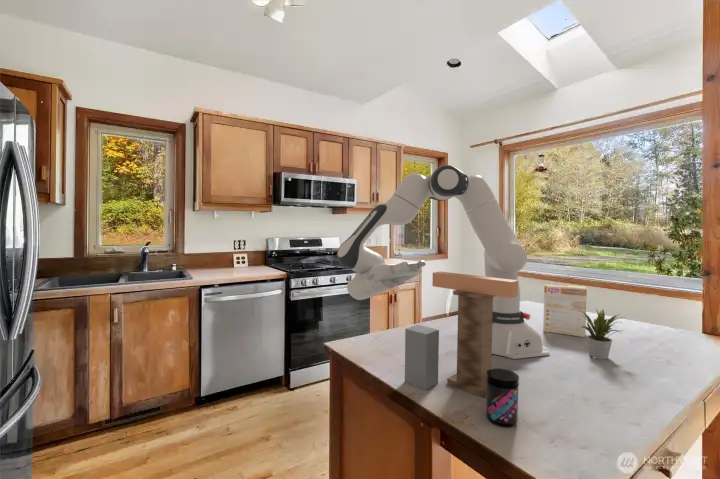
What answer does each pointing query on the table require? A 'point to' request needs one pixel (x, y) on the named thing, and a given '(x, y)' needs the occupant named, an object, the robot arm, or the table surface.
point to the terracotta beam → (476, 284)
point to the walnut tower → (473, 342)
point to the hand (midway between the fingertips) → (415, 263)
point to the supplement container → (502, 397)
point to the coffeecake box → (564, 309)
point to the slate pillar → (421, 356)
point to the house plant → (599, 335)
